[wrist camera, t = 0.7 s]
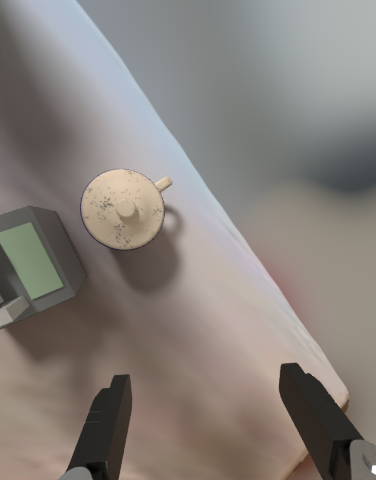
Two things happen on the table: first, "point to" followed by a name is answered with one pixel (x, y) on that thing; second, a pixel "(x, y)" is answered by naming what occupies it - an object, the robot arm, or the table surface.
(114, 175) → the teacup with lid
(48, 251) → the breaker box
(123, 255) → the table surface
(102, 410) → the robot arm
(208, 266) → the table surface
